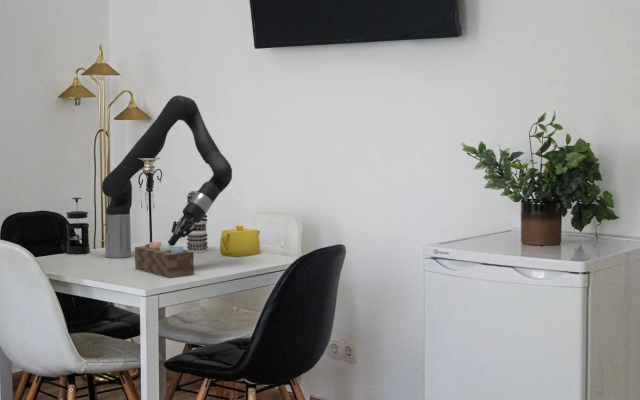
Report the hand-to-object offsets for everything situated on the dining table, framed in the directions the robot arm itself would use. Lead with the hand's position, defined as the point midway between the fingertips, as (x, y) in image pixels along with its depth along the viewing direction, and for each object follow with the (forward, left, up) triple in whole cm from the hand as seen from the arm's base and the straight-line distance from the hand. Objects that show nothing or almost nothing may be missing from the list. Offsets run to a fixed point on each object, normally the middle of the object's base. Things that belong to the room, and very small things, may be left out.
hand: (170, 244), depth 309 cm
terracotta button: (-7, +4, -6) cm, 10 cm away
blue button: (+4, -7, -6) cm, 10 cm away
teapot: (+18, +41, -10) cm, 46 cm away
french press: (-50, +39, -10) cm, 64 cm away
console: (-2, -2, -10) cm, 10 cm away
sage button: (-1, -1, -6) cm, 6 cm away
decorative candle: (-2, +47, -10) cm, 48 cm away
